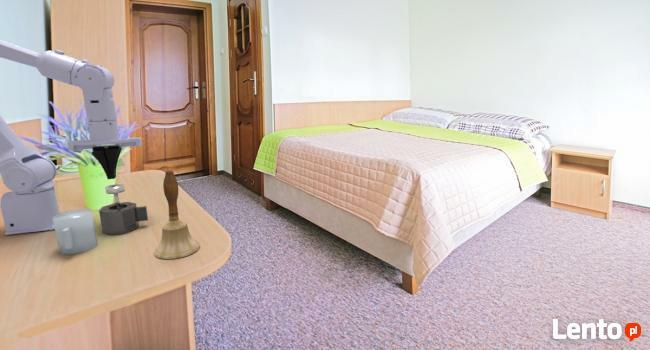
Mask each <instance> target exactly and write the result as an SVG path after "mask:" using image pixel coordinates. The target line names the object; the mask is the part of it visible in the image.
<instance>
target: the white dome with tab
mask: <svg viewBox="0 0 650 350" xmlns="http://www.w3.org/2000/svg"><path fill="white" fill-rule="evenodd" d="M52 219H53V223H54V228H55V229H54V232H55V233H54V234H55V237H56V240H57V246H58V251H59V253H60V254H61V255H67V256H68V255H77V254H80V253H85V252H88V251H90V250H93V249H94V248H96V247H97V246H98V245H99V242H98V237H97V230H96V224H95V219H94V214H93V210H92V209H87V208H80V209H73V210H67V211H63V212H60V214H57V215H55V216H54V217H53V218H52Z"/></svg>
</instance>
